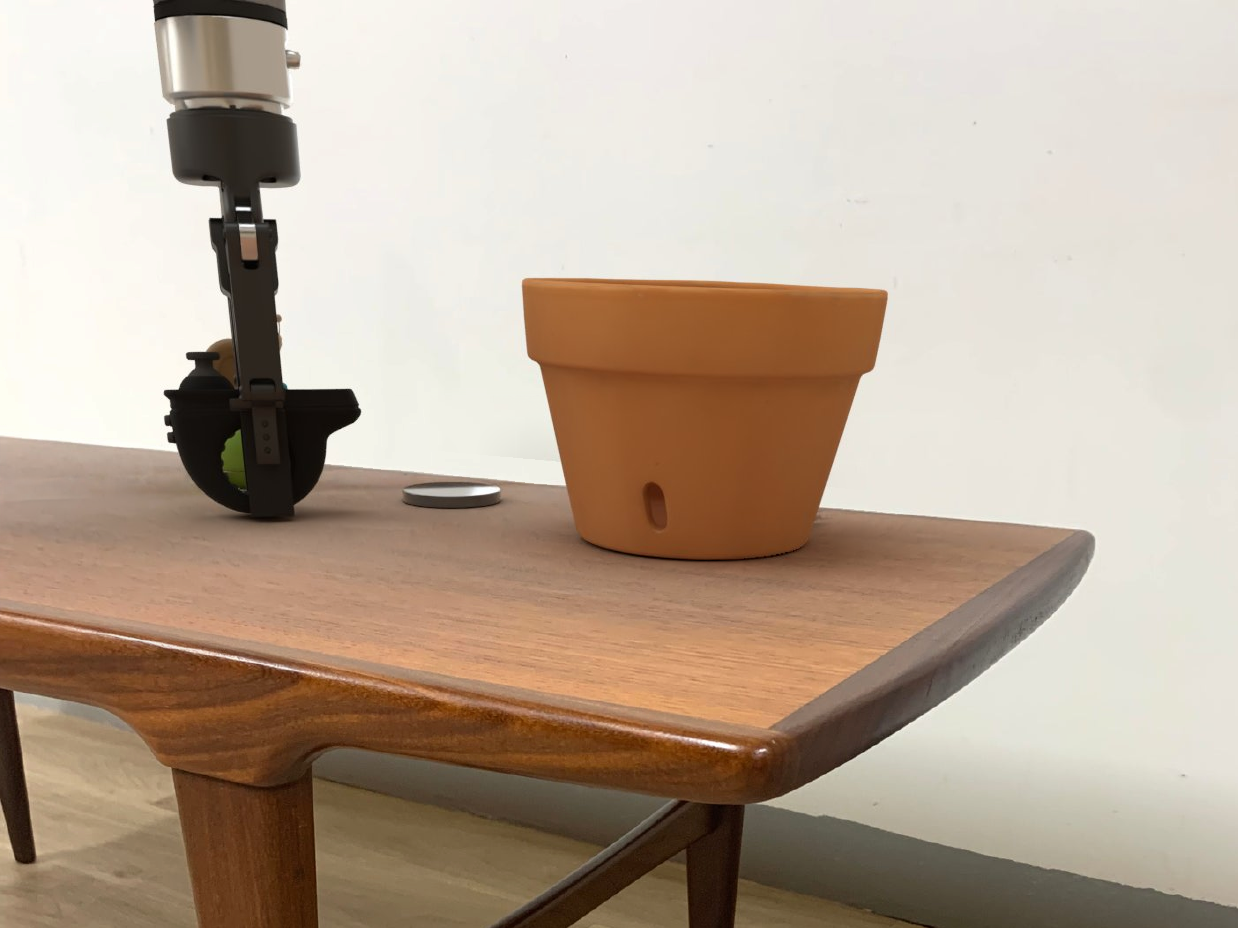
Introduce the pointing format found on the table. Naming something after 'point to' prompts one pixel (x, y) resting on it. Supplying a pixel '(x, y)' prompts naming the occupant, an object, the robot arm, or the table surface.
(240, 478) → the snail figurine
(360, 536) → the table surface
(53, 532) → the table surface
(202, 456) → the controller
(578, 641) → the table surface
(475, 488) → the slate coaster
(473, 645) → the table surface
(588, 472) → the flower pot
